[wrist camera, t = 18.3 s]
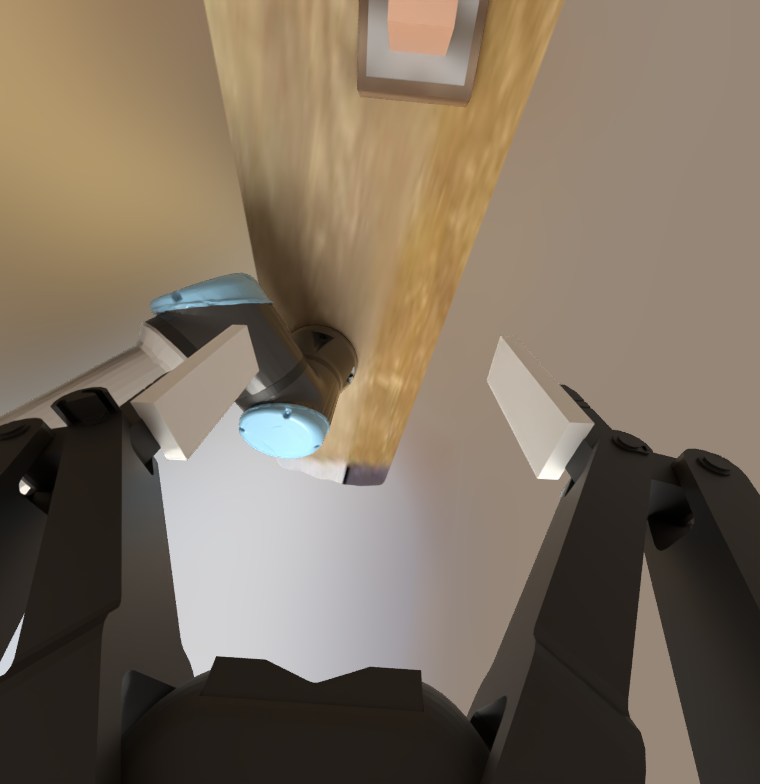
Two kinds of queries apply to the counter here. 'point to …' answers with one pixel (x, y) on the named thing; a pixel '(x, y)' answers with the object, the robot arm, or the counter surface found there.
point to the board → (419, 58)
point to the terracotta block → (421, 25)
